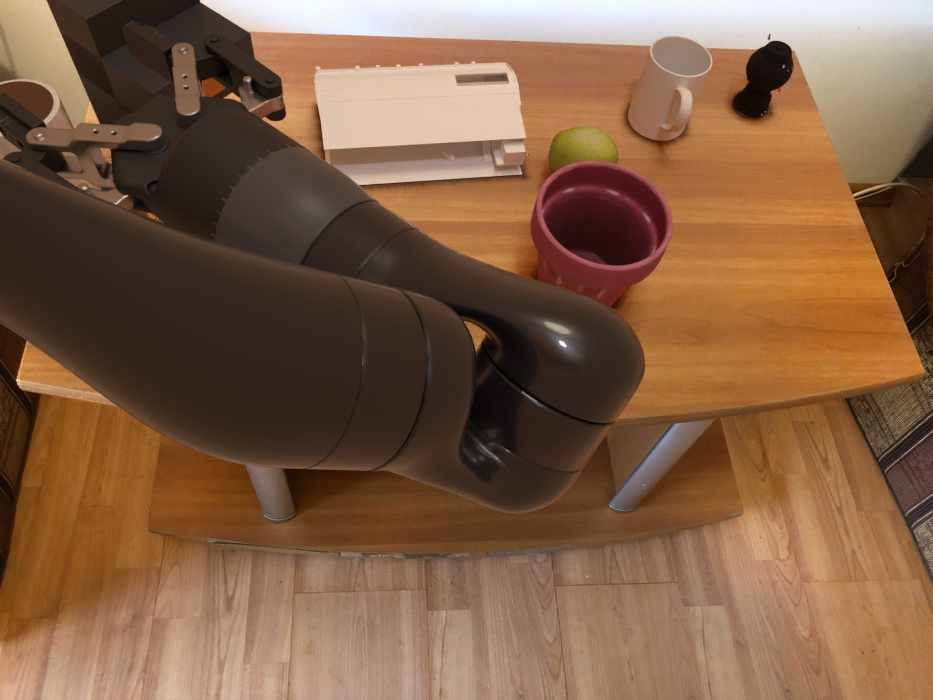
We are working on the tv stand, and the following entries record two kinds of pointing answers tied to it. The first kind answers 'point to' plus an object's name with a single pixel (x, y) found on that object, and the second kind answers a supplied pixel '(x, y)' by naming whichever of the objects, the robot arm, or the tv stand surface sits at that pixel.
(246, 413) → the robot arm
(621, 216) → the flower pot
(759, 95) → the gumball machine
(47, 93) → the white cup
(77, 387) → the tv stand surface
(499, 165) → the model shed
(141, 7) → the coffee machine
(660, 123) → the mug
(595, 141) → the apple
